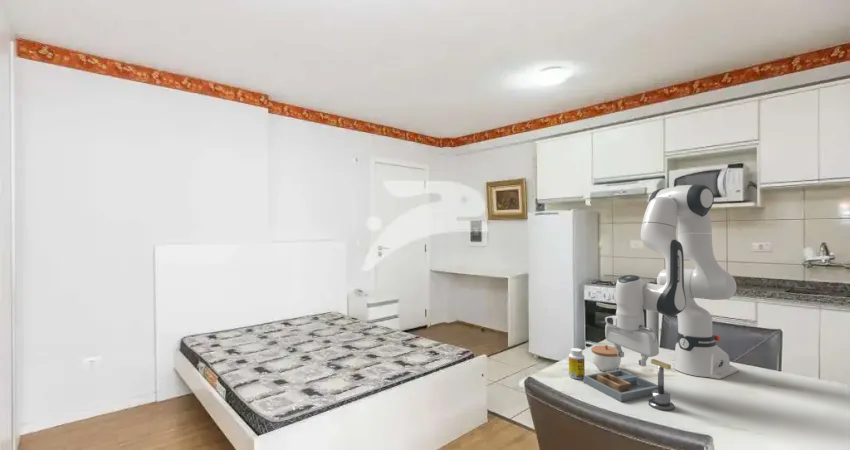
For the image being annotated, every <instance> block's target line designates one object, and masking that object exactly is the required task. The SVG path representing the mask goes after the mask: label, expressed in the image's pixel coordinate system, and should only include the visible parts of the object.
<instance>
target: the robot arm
mask: <svg viewBox="0 0 850 450" xmlns="http://www.w3.org/2000/svg"><path fill="white" fill-rule="evenodd" d="M714 200H715V197H714V193H713V191H712V190H711V188H710V187H709V186H708V185H705V184H699V183H698V184H697V183H696V184H686V185H683V184H681V185H677V186H671V187H670V186H669V187H666V188H664V187H663V188H659V189H656V190H654V191H653V192H652V193H651V194H650V197H649V199H648V203H647V207H646V209H645V211H644V215H643V218H642V222H641V227H640V240H641V241H642V243H643V244H644V245H645V246H646V248H648V249H650V250H652V251H655V252H656V253H658V254H660V255H661V256H662V257H663V258H664V260H665V269H664V268H663V269H661V270H660V272H659V273H658V274H657V278H656V283H651V282H646V281H644V280H643V279H641V277H640V276H639V275H635V274H627V275H622V276H620V277H618V278H617V279H616V284H615V293H614V294H615V295H614V297H615V303H616V311H615V315H610V316H606V317H604V321H605V323H606V324H605V327H604V328H605V329H604V333H605V335H604V336H605V339H606V341H607V342H609V343H612V344H614V345H613V347H615V349H616V351H617V356H618V357H621V358H624V357H625V351H623V350H622V348H624V349H628V350H630V351H633V352H636V353H638V354H640V356H641V359H639V360H638V366H641V367H646V366H647V361H648V359H649V358H652V357H657V356H658V355H659V354H660V348H659V341H658V338H657V333H656V331H654V329H653V328H651V327H647V326H645V313H644V310H645V311H650V312H653V313H659V314H662V315H666V316H667V317H675V316H677V331H676V343H675V351H674V359H673V360H671V361H672V362H671V363H672V365H673V368H674V370H676V371H678V372H680V373H682V374H686V375H690V376H694V377H695V376H696V377H702V378H710V379H711V378H712V379H715V380H717V379H718V380H721V379H723V378H725V377H728V376H730V375H732V374H735V373H737V372H738V371H739V370H738V367H736V366H734V365H732V364H731V363H730V361H731V360H730V357H729V356H730V355H729V354H728V353H727V352H725V350H723V349H722V348H721V347H719V346H718V345H717V342H720V341H721V339H722V337H721V335H718V334H714V333H713V316H712V314H711V312H709V311H708V310H707V309H706V308H703V307H702V306H700V305H698V304H697V303H696V301H695V299H701V300H703V299H704V300H711V301H721V300H722V301H723V300H730V299H731V298H732V297H733V296H734V295H735V293H736V291H737V283H736V280H735V278H734V277H733V275H731V273H729V272H727V270H725V269H723V267H721V266H720V264H719V263H718V261H717V259H716V258H715V255H714V248H713V234H712V233H713V230H712V229H713V226H712V219H711V215H710V211H711V209H712V206H713V205H714ZM685 259H686V260H688V261H690V262H692V264H693V265H694V268H685V264H684V260H685ZM716 341H717V342H716Z"/></svg>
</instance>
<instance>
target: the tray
mask: <svg viewBox="0 0 850 450" xmlns="http://www.w3.org/2000/svg"><path fill="white" fill-rule="evenodd" d="M606 373H609V374H611V375H613V376H616V377H619V376H624V375H629V374H632V373H630V372H628V371H626V370H623V369H615V370H614V371H608V372H605V371H602V372H598V373H593V374H586V375H585V376H584V378H583V384H585V385H588V387H591V388H593V389H595V390H597V391H599V392H601V393H603V394H605V395H606V396H609V397H611V398H613V399H614V400H616V401H618V402H620V403H624V402H628V401H634V400H638V399H643V398H647V397H652V391H653V390H658V384H656V383H653V382H651V381H648V380H647V379H644V378H641V377H639V376H637V375H635V374H632V375H634V376H636V377H637V385H635V386H631V391H627V392H622V393H621V392H619V391H617V390H615V389H613V388H611V387H608V386H606V385H604V384H602V383H600V382H598V381H597V375H601V374H606Z"/></svg>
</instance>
